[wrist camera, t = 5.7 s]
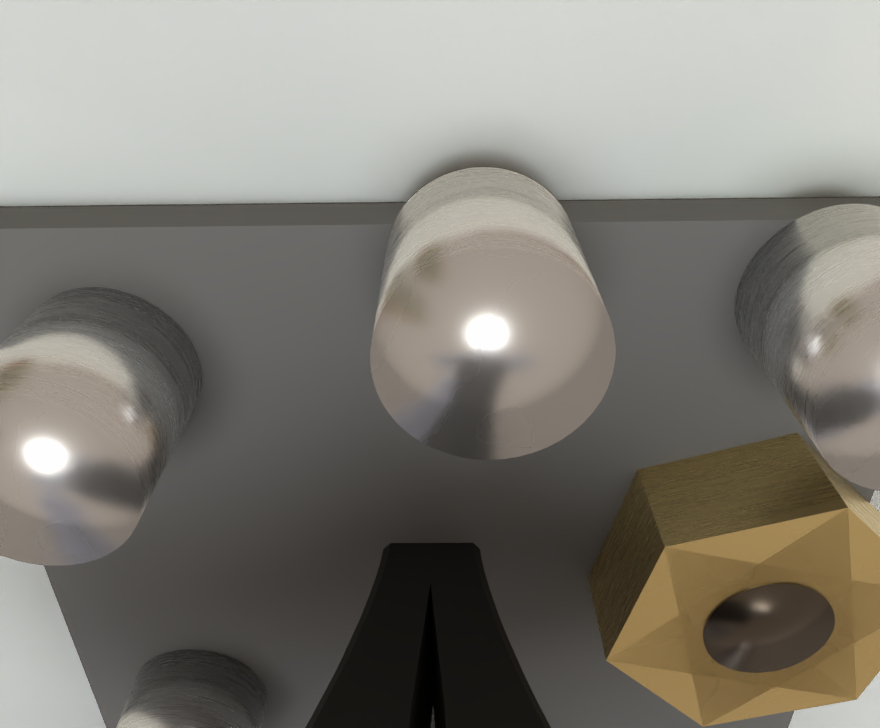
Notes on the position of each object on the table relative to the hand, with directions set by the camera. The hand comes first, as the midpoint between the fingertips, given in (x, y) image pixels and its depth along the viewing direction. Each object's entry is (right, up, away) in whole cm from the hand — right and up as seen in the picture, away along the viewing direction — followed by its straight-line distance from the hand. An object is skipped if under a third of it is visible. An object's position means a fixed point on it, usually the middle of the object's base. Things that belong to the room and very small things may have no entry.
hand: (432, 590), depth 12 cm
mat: (0, -1, +2) cm, 3 cm away
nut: (+5, 0, +1) cm, 5 cm away
